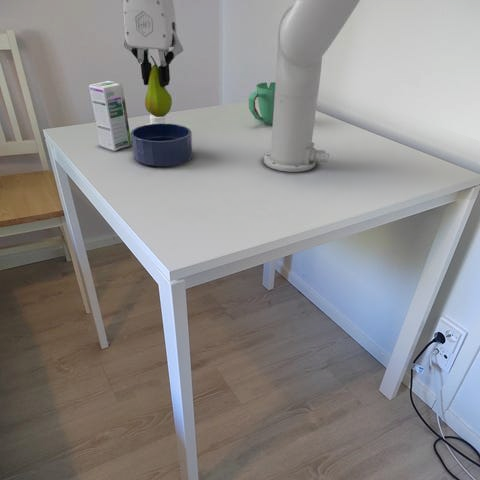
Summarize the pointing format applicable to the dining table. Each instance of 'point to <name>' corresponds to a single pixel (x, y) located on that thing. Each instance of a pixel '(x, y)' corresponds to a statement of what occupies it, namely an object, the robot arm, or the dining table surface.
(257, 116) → the mug
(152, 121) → the candle holder
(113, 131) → the syrup box
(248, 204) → the dining table surface
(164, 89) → the fruit
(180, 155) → the bowl
